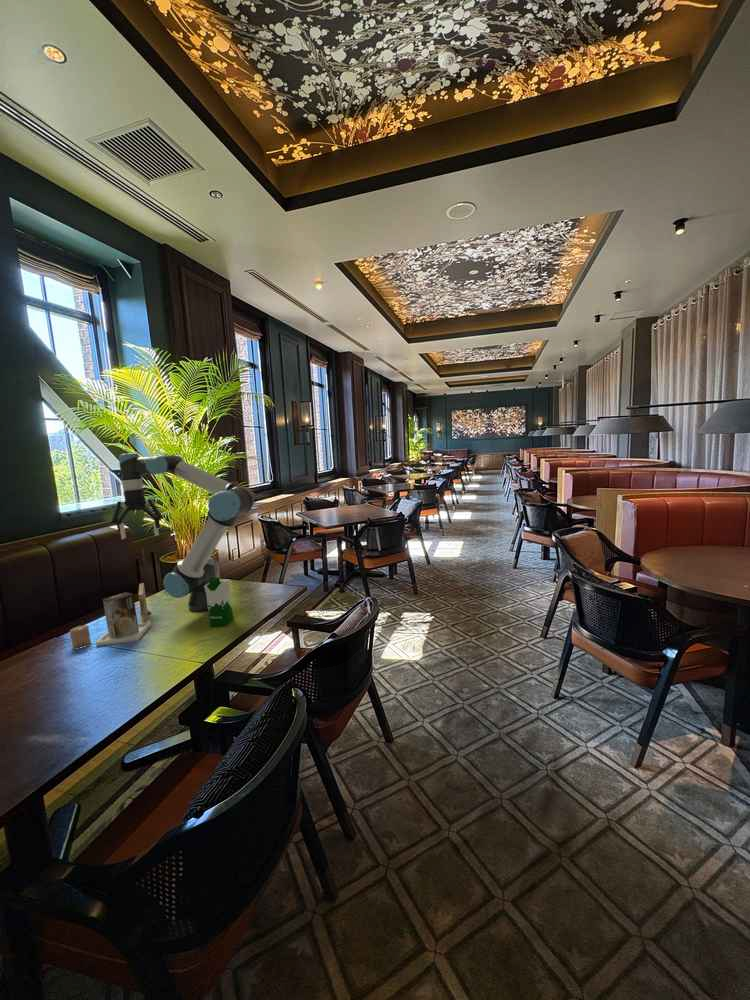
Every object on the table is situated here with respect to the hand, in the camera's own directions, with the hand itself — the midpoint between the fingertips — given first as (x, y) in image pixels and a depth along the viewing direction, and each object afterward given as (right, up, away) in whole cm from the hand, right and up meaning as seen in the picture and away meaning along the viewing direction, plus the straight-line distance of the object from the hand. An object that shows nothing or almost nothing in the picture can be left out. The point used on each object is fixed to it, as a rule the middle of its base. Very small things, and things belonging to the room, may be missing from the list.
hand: (140, 537), depth 184 cm
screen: (+1, -37, +2) cm, 37 cm away
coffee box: (+1, -38, -14) cm, 41 cm away
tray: (+2, -39, -14) cm, 41 cm away
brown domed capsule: (-11, -41, -21) cm, 47 cm away
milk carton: (+39, -36, -8) cm, 54 cm away
